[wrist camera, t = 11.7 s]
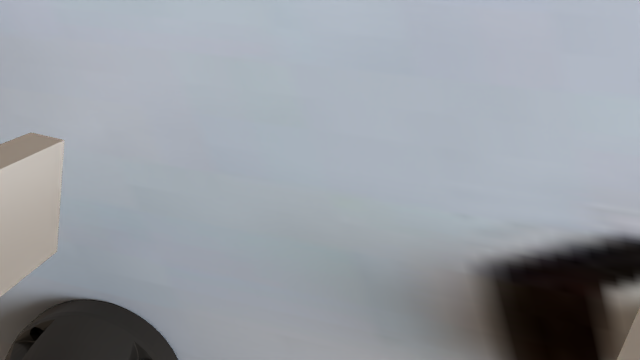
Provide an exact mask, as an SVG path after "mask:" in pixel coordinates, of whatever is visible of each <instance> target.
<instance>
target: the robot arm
mask: <svg viewBox="0 0 640 360" xmlns="http://www.w3.org/2000/svg"><path fill="white" fill-rule="evenodd" d="M63 153H64V140H62V139H57V138H53V137H48V136H44V135H40V134H35V133H28V134H26V135H23V136H21V137H18V138H15V139H13V140H10V141H8V142H5V143H3V144H0V297H1V296H2V295H3V294H5V293H6V292H7V291H8V290H10V289H11V288H12V287H13V286H15V285H16V284H17V283H18V282H20V281H21V280H22V279H23V278H25V277H26V276H27V275H28V274H30V273H31V272H32V271H33V270H35V269H36V268H37V267H38V266H40V265H41V264H42V263H43V262H45V261H46V260H47V259H49V258H50V257H51V256H52V255H54V254H55V253H56V252H57V243H58V228H59V213H60V198H61V183H62V168H63ZM5 360H178V359H177V357H176V355H175V353H174V351H173V350H172V348H171V347H170V345H169V344H168V342H167V341H166V340H165V338H164V337H163V336H162V335H161V334H160V333H159V332H158V331H157V330H156V329H155V328H154V327H153V326H152V325H150V324H149V323H148V322H146V321H145V320H144V319H142V318H141V317H139V316H137V315H136V314H134V313H132V312H130V311H128V310H126V309H124V308H121V307H119V306H116V305H113V304H109V303H105V302H99V301H91V300H79V301H71V302H66V303H62V304H59V305H56V306H54V307H52V308H50V309H48V310H46V311H45V312H43V313H42V314H40V315H39V316H38V317H37V318H36V319H35V320H34V321H33V322H32V323H30V324H29V325H28V326H27V327H26V328H25V329H24V330H23V331H22V332H21V333H20V335H19V336H18V337H17V338H16V340H15V341H14V343H13V344H12V346H11V348H10V350H9V352H8V355H7V357H6V359H5ZM617 360H640V307H639V310H638V312H637V314H636V317H635V319H634V321H633V324H632V326H631V328H630V331H629V333H628V335H627V338H626V340H625V342H624V344H623V347H622V349H621V351H620V354H619V356H618V358H617Z"/></svg>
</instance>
